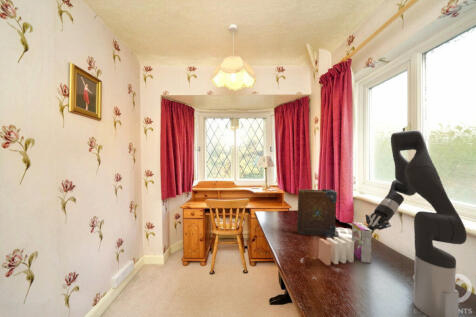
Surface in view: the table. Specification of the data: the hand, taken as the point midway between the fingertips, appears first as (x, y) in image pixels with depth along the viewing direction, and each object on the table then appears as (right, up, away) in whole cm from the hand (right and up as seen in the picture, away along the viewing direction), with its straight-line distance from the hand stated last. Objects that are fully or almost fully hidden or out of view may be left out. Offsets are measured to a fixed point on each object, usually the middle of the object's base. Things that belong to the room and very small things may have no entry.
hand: (367, 232), depth 93 cm
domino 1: (-26, -12, -6) cm, 29 cm away
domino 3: (-13, -12, -3) cm, 18 cm away
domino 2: (-22, -12, -5) cm, 25 cm away
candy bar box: (-5, -13, -1) cm, 13 cm away
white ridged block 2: (-17, -12, -4) cm, 22 cm away
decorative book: (-17, -12, +26) cm, 33 cm away
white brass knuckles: (+4, -13, +25) cm, 28 cm away
